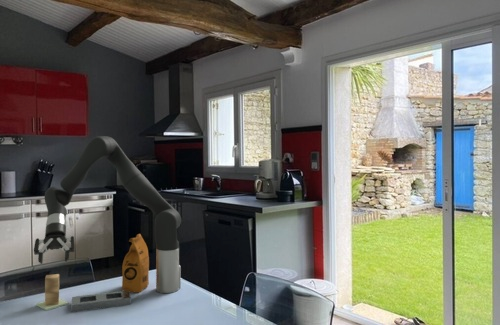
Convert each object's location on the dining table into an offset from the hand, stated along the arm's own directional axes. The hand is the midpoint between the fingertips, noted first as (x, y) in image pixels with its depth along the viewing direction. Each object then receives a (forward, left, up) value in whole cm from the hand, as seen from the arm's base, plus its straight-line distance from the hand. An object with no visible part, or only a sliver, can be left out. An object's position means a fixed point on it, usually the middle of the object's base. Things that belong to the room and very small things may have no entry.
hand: (53, 261), depth 148 cm
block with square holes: (-8, +19, -15) cm, 25 cm away
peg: (+3, +5, -14) cm, 15 cm away
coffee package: (-27, +14, -15) cm, 34 cm away
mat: (+3, +5, -15) cm, 16 cm away
